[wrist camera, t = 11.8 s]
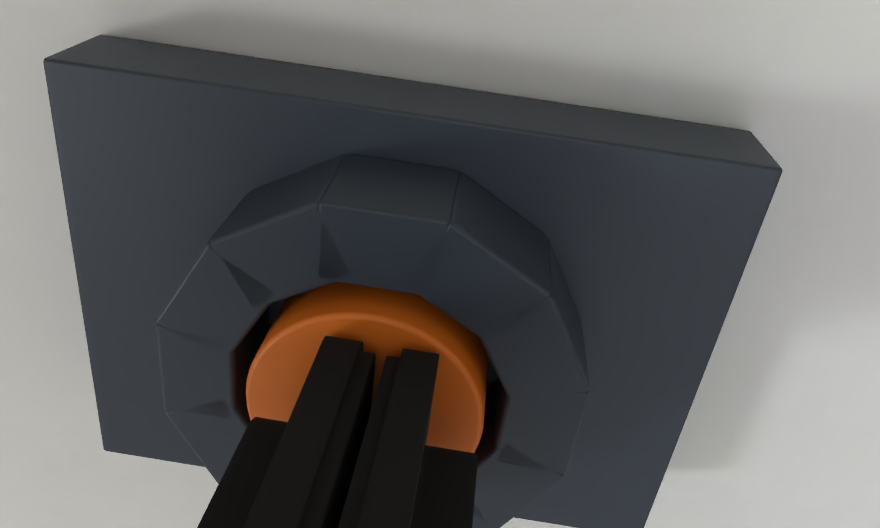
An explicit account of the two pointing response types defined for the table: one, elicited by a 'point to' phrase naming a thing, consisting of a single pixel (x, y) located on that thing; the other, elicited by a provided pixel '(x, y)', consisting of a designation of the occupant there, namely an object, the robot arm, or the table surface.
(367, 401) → the robot arm
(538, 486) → the control block
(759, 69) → the table surface
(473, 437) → the button
